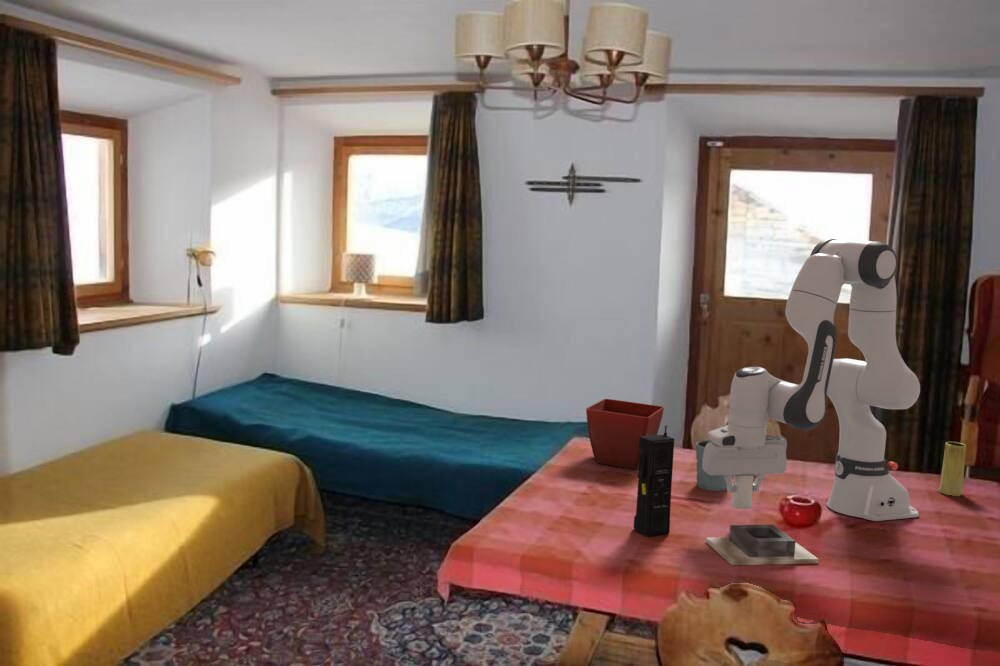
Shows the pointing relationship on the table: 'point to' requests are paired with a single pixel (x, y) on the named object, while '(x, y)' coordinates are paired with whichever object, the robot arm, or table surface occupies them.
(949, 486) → the vase
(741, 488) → the connector plug
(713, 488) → the teal cup
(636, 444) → the plant pot
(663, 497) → the portable radio
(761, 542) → the end holder
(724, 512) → the table surface
